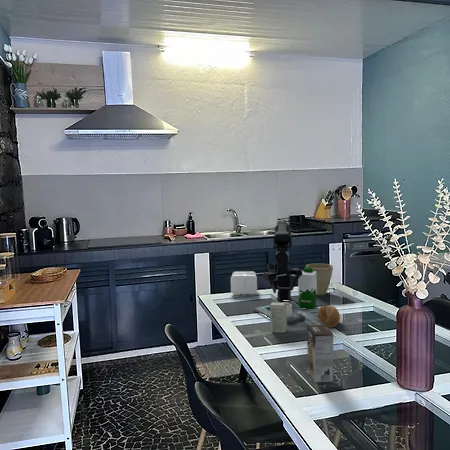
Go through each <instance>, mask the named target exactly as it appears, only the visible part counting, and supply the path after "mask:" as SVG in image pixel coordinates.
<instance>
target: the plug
mask: <svg viewBox="0 0 450 450" xmlns="http://www.w3.org/2000/svg"><path fill="white" fill-rule="evenodd" d="M284 303H286V318H287V317H292V311H293V304H292V303H289V301H286V302H284Z"/></svg>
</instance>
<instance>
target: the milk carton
mask: <svg viewBox="0 0 450 450" xmlns="http://www.w3.org/2000/svg"><path fill="white" fill-rule="evenodd" d="M297 283H298V286H297V287H298V288H297V289H298V307H300V308H305V309H304V310H308V309H315V308H316V306H317V300H318V299H317V297H318V295H317V280H316V271H312V268H311V267H306V266H305V267H303V270H302V276H300V278H298V280H297ZM300 308H299V309H300Z"/></svg>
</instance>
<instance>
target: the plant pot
mask: <svg viewBox="0 0 450 450" xmlns="http://www.w3.org/2000/svg"><path fill="white" fill-rule="evenodd" d="M305 267H311V268H312V271H316V280H317V296H325V295H326V294H327V293H328V290H329V287H330V283H331V280H332V276H333V268H334V266H333V265H332V264H329V263H309V264H306V265H305Z"/></svg>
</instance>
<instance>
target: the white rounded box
mask: <svg viewBox="0 0 450 450" xmlns="http://www.w3.org/2000/svg"><path fill="white" fill-rule="evenodd" d="M230 293H231V294H232V295H235V296H241V295H246V294H250V295H249V296H253V295H255V294H257V293H258V277H257V274H256V272H255V271H233V272H232V274H231V277H230ZM240 294H241V295H240Z"/></svg>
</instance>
